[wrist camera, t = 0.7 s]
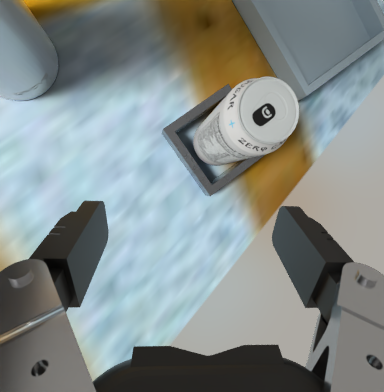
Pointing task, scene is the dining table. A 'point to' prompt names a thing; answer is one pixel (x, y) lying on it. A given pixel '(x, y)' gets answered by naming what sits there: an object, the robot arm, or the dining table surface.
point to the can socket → (186, 157)
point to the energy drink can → (248, 122)
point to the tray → (312, 36)
